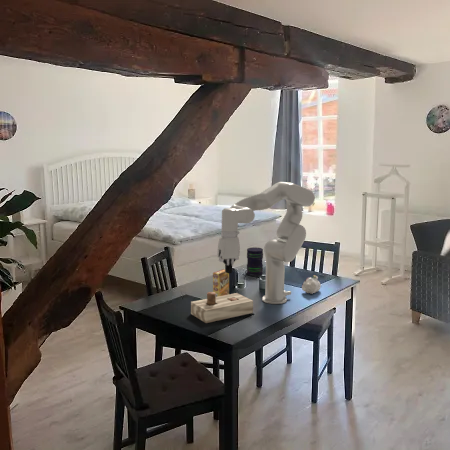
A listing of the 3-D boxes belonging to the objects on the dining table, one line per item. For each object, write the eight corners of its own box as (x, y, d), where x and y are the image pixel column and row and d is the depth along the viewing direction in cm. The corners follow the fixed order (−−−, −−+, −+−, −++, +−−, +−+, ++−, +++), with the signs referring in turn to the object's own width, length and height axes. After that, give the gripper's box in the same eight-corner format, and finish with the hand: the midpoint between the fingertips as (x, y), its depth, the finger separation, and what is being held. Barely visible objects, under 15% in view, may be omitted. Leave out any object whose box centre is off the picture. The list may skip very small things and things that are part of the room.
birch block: (191, 314, 245) (191, 301, 244) (236, 304, 258) (236, 292, 257) (206, 323, 233) (206, 310, 232) (252, 312, 247) (253, 300, 246)
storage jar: (265, 271, 319) (265, 248, 316) (259, 275, 310) (259, 251, 307) (250, 270, 323) (250, 246, 320) (244, 274, 314) (244, 250, 311)
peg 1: (212, 303, 244) (212, 291, 243) (217, 305, 241) (217, 293, 240) (205, 304, 242) (205, 292, 241) (209, 307, 239) (209, 295, 238)
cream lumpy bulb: (316, 272, 284) (306, 275, 271) (327, 281, 281) (318, 285, 268) (306, 285, 287) (296, 289, 274) (317, 294, 284) (307, 299, 271)
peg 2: (233, 308, 252) (233, 297, 251) (238, 311, 248) (238, 299, 247) (226, 310, 250) (227, 298, 248) (231, 312, 246) (231, 301, 245)
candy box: (219, 303, 260) (219, 273, 258) (212, 301, 263) (212, 272, 260) (229, 298, 267) (229, 270, 265) (222, 297, 270) (222, 268, 267)
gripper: (238, 232, 248) (237, 269, 251) (211, 234, 240) (210, 272, 243) (247, 234, 242) (246, 272, 245) (220, 237, 234) (219, 276, 237)
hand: (228, 272), depth 244 cm, fingers closed
